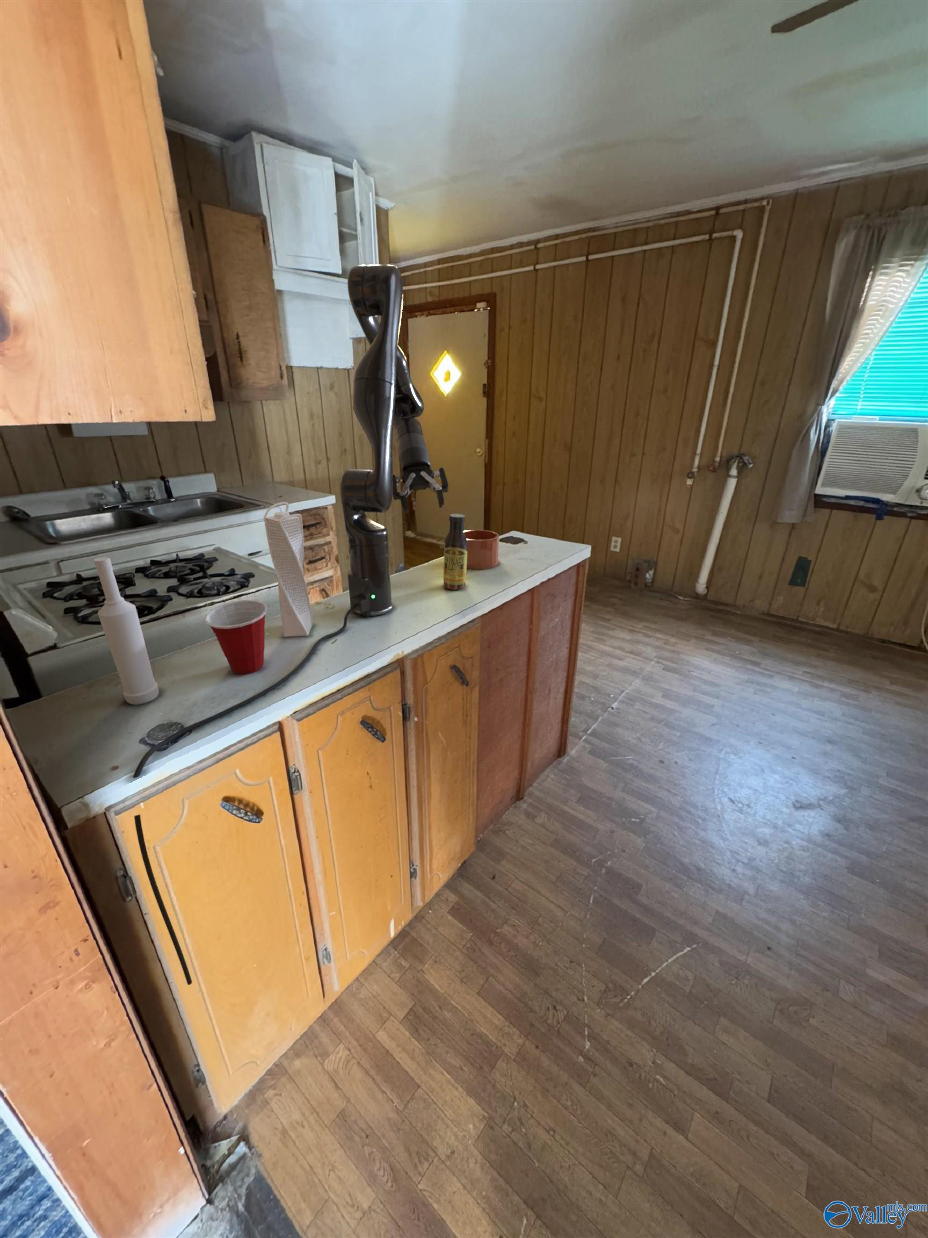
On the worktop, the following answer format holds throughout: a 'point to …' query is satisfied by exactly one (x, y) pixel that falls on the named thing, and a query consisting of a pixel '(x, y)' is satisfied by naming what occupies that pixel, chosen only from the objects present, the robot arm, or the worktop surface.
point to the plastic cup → (240, 633)
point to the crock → (482, 549)
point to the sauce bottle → (455, 554)
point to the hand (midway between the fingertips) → (424, 508)
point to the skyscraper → (289, 570)
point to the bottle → (125, 639)
